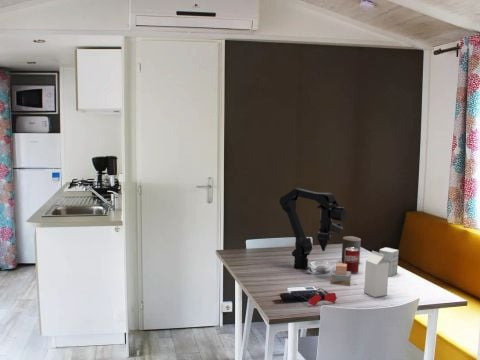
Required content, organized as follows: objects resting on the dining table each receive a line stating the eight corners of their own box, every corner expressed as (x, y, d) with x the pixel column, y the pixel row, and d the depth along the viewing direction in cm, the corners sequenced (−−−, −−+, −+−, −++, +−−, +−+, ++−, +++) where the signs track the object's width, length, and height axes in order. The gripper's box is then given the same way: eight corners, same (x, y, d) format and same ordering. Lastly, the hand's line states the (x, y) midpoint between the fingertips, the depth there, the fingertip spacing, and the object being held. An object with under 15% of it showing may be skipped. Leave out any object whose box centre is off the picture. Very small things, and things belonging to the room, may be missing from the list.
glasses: (309, 308, 206) (309, 296, 206) (290, 294, 222) (290, 284, 221) (337, 303, 212) (338, 292, 211) (317, 291, 227) (317, 280, 226)
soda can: (358, 274, 251) (359, 251, 250) (343, 273, 253) (344, 250, 251) (358, 270, 258) (359, 247, 257) (343, 269, 260) (344, 246, 258)
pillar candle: (339, 264, 269) (341, 236, 267) (343, 259, 278) (344, 233, 276) (358, 266, 266) (359, 239, 264) (360, 261, 275) (362, 235, 273)
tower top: (332, 279, 237) (332, 274, 236) (334, 274, 244) (334, 269, 244) (349, 281, 234) (349, 276, 234) (350, 276, 242) (351, 271, 242)
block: (335, 274, 237) (335, 265, 237) (335, 271, 242) (336, 263, 242) (346, 274, 236) (346, 266, 236) (346, 271, 241) (346, 263, 241)
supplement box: (377, 273, 254) (378, 249, 252) (384, 270, 259) (385, 246, 257) (390, 276, 249) (392, 252, 247) (397, 273, 254) (399, 249, 252)
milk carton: (374, 297, 219) (377, 255, 217) (363, 292, 225) (366, 251, 223) (387, 295, 222) (389, 253, 220) (375, 290, 228) (378, 249, 226)
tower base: (330, 285, 236) (330, 280, 236) (331, 279, 245) (331, 274, 245) (349, 287, 234) (349, 282, 234) (350, 281, 243) (350, 276, 242)
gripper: (341, 223, 238) (339, 255, 240) (343, 216, 255) (342, 245, 257) (317, 221, 241) (316, 252, 243) (321, 214, 258) (320, 243, 260)
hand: (324, 248), depth 251 cm, fingers open, 9 cm apart
